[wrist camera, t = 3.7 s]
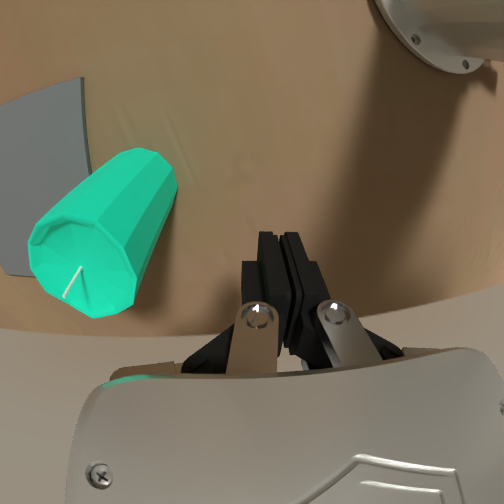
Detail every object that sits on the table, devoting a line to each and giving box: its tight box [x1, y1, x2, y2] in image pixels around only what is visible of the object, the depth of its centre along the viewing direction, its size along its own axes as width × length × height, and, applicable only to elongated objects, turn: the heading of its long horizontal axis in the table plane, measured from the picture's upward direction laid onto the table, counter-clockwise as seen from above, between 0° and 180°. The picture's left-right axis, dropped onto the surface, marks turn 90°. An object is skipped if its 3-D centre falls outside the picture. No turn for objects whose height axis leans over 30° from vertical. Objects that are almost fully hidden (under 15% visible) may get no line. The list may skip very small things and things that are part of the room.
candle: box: [28, 147, 178, 319], centre depth 14 cm, size 6×6×12 cm
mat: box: [0, 77, 92, 277], centre depth 18 cm, size 16×18×1 cm
